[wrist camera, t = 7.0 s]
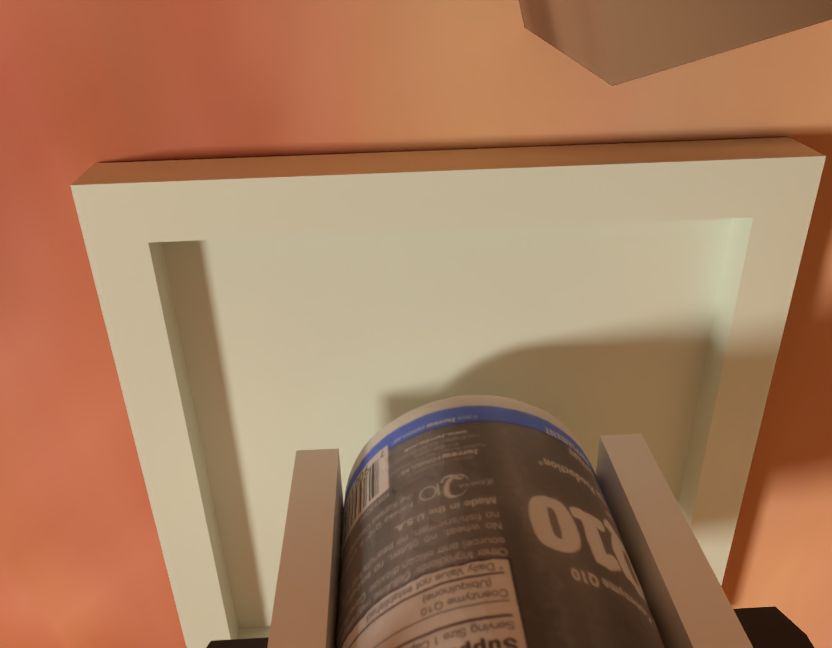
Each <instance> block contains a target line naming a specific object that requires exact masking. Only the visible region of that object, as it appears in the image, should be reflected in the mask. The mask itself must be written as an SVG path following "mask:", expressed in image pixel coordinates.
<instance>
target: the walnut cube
mask: <svg viewBox="0 0 832 648" xmlns="http://www.w3.org/2000/svg"><path fill="white" fill-rule="evenodd" d="M519 3H520V8H521V13H522V18H523V23H524V27H525V28H527V29H528V30H529V31H531V32H532V33H534V34H535V35H537V36H538V37H540V38H541V39H543V40H544V41H546V42H547V43H549V44H550V45H552V46H553V47H555V48H556V49H558V50H559V51H561V52H562V53H564V54H565V55H567V56H568V57H570V58H571V59H573V60H574V61H576V62H577V63H579V64H580V65H582V66H583V67H585V68H586V69H588V70H589V71H591V72H592V73H594V74H595V75H597V76H598V77H600V78H601V79H603V80H604V81H606V82H607V83H609V84H610V85H612V86H614V85H618V84H621V83H624V82H627V81H631V80H634V79H637V78H641V77H644V76H647V75H650V74H654V73H657V72H660V71H663V70H667V69H670V68H673V67H677V66H680V65H683V64H686V63H690V62H693V61H696V60H700V59H703V58H706V57H709V56H713V55H716V54H719V53H723V52H726V51H729V50H732V49H736V48H739V47H742V46H745V45H749V44H752V43H755V42H759V41H762V40H765V39H768V38H772V37H775V36H778V35H782V34H785V33H788V32H791V31H795V30H798V29H801V28H804V27H808V26H811V25H814V24H818V23H821V22H824V21H827V20H831V19H832V0H519Z"/></svg>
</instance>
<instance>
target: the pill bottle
mask: <svg viewBox="0 0 832 648" xmlns="http://www.w3.org/2000/svg"><path fill="white" fill-rule="evenodd" d="M336 648H665V646H664V643H663V641H662V638H661V635H660V633H659V631H658V628H657V625H656V623H655V620H654V618H653V616H652V613H651V611H650V609H649V606H648V604H647V601H646V599H645V596H644V593H643V590H642V588H641V585H640V583H639V580H638V578H637V576H636V573H635V571H634V569H633V566H632V564H631V561H630V559H629V556H628V554H627V551H626V549H625V546H624V544H623V541H622V539H621V536H620V534H619V531H618V528H617V526H616V524H615V521H614V519H613V516H612V514H611V512H610V509H609V507H608V504H607V501H606V499H605V496H604V494H603V491H602V489H601V486H600V484H599V481H598V479H597V477H596V474H595V472H594V470H593V467H592V465H591V463H590V461H589V459H588V457H587V455H586V453H585V451H584V449H583V448H582V446H581V445H580V443H579V442H578V440H577V439H576V438H575V436H574V435H573V434H572V433H571V432H570V431H569V430H568V429H567V428H566V427H565V426H564V425H563V424H562V423H561V422H560V421H559V420H557V419H556V418H555V417H553V416H552V415H551V414H549V413H548V412H546V411H544V410H542V409H540V408H537V407H535V406H532V405H529V404H526V403H524V402H521V401H517V400H514V399H510V398H505V397H499V396H491V395H462V396H455V397H451V398H447V399H442V400H437V401H434V402H431V403H428V404H425V405H423V406H420V407H418V408H416V409H413V410H411V411H409V412H407V413H405V414H403V415H401V416H400V417H398V418H397V419H395V420H393V421H392V422H390V423H389V424H387V425H386V426H385V427H383V428H382V429H381V430H380V431H378V432H377V433H376V434H375V435H374V436H373V437H372V438H371V439H370V440H369V441H368V442H367V444H366V445H365V446H364V447H363V449H362V450H361V452H360V454H359V455H358V457H357V459H356V461H355V463H354V465H353V467H352V469H351V472H350V475H349V478H348V482H347V486H346V491H345V501H344V509H343V527H342V544H341V567H340V577H339V596H338V606H337V634H336Z"/></svg>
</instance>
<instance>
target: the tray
mask: <svg viewBox="0 0 832 648" xmlns="http://www.w3.org/2000/svg"><path fill="white" fill-rule="evenodd" d="M825 159H826V156H825V155H823V154H821V153H819V152H817V151H815V150H813V149H812V148H810V147H808V146H806V145H804V144H802V143H800V142H798V141H796V140H794V139H792V138H790V137H778V138H751V139H725V140H698V141H671V142H645V143H618V144H592V145H565V146H539V147H512V148H485V149H459V150H432V151H406V152H379V153H353V154H326V155H299V156H273V157H246V158H220V159H193V160H167V161H140V162H114V163H95V164H94V165H93V166H92V167H90V168H89V169H88V170H87V171H86V172H85V173H84V174H83V175H81V176H80V177H79V178H78V179H77V180H76V181H75V182H74V183H72V184H71V185H70V186H71V190H72V194H73V198H74V202H75V206H76V210H77V213H78V217H79V221H80V225H81V229H82V233H83V237H84V241H85V245H86V249H87V253H88V257H89V261H90V265H91V269H92V273H93V277H94V281H95V285H96V289H97V293H98V297H99V301H100V305H101V309H102V313H103V317H104V321H105V325H106V329H107V333H108V337H109V341H110V345H111V349H112V353H113V357H114V361H115V365H116V369H117V373H118V377H119V381H120V384H121V388H122V392H123V396H124V400H125V404H126V408H127V412H128V416H129V420H130V424H131V428H132V432H133V436H134V440H135V444H136V448H137V452H138V456H139V460H140V464H141V468H142V472H143V476H144V480H145V484H146V488H147V492H148V496H149V500H150V504H151V508H152V512H153V516H154V520H155V524H156V528H157V532H158V536H159V540H160V544H161V548H162V552H163V556H164V559H165V563H166V567H167V571H168V575H169V579H170V583H171V587H172V591H173V595H174V599H175V603H176V607H177V611H178V615H179V619H180V623H181V627H182V631H183V635H184V639H185V643H186V647H187V648H206V647H207V646H208V644H209V643H210V641H214V640H231V639H249V638H266V637H269V633H270V626H271V619H272V612H273V605H274V599H275V592H276V585H277V578H278V571H279V565H280V558H281V551H282V544H283V537H284V531H285V524H286V517H287V510H288V503H289V497H290V490H291V483H292V476H293V469H294V462H295V456H296V451H297V450H317V449H338V448H339V457H340V469H341V480H342V491H343V502H344V501H345V491H346V486H347V482H348V478H349V475H350V472H351V469H352V467H353V465H354V463H355V461H356V459H357V457H358V455H359V454H360V452H361V450H362V449H363V447H364V446H365V445H366V444H367V442H368V441H369V440H370V439H371V438H372V437H373V436H374V435H375V434H376V433H377V432H378V431H380V430H381V429H382V428H383V427H385V426H386V425H387V424H389V423H390V422H392V421H393V420H395V419H397V418H398V417H400V416H401V415H403V414H405V413H407V412H409V411H411V410H413V409H416V408H418V407H420V406H423V405H425V404H428V403H431V402H434V401H437V400H442V399H447V398H451V397H455V396H462V395H491V396H499V397H505V398H510V399H514V400H517V401H521V402H524V403H526V404H529V405H532V406H535V407H537V408H540V409H542V410H544V411H546V412H548V413H549V414H551V415H552V416H553V417H555V418H556V419H557V420H559V421H560V422H561V423H562V424H563V425H564V426H565V427H566V428H567V429H568V430H569V431H570V432H571V433H572V434H573V435H574V436H575V438H576V439H577V440H578V442H579V443H580V445H581V446H582V448H583V449H584V451H585V453H586V455H587V457H588V459H589V461H590V463H591V465H592V467H593V470H594V472H595V474H596V466H597V458H598V449H599V441H600V436H604V435H624V434H642V436H643V438H644V440H645V442H646V443H647V445H648V447H649V449H650V451H651V453H652V455H653V457H654V459H655V461H656V463H657V465H658V466H659V468H660V470H661V472H662V474H663V476H664V478H665V480H666V482H667V484H668V486H669V487H670V489H671V491H672V493H673V495H674V497H675V499H676V501H677V503H678V505H679V507H680V509H681V510H682V512H683V514H684V516H685V518H686V520H687V522H688V524H689V526H690V528H691V530H692V531H693V533H694V535H695V537H696V539H697V541H698V543H699V545H700V547H701V549H702V551H703V553H704V554H705V556H706V558H707V560H708V562H709V564H710V566H711V568H712V570H713V572H714V574H715V575H716V577H717V579H718V581H719V583H720V585H722V581H723V577H724V573H725V569H726V565H727V561H728V557H729V553H730V549H731V544H732V540H733V536H734V532H735V528H736V524H737V520H738V516H739V512H740V508H741V503H742V499H743V495H744V491H745V487H746V483H747V479H748V475H749V471H750V466H751V462H752V458H753V454H754V450H755V446H756V442H757V438H758V434H759V430H760V425H761V421H762V417H763V413H764V409H765V405H766V401H767V397H768V393H769V389H770V384H771V380H772V376H773V372H774V368H775V364H776V360H777V356H778V352H779V348H780V343H781V339H782V335H783V331H784V327H785V323H786V319H787V315H788V311H789V306H790V302H791V298H792V294H793V290H794V286H795V282H796V278H797V274H798V270H799V265H800V261H801V257H802V253H803V249H804V245H805V241H806V237H807V233H808V229H809V224H810V220H811V216H812V212H813V208H814V204H815V200H816V196H817V192H818V188H819V183H820V179H821V175H822V171H823V167H824V163H825Z"/></svg>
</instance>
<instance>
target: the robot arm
mask: <svg viewBox="0 0 832 648" xmlns="http://www.w3.org/2000/svg"><path fill="white" fill-rule="evenodd" d="M596 477H597V479H598V481H599V484H600V486H601V489H602V491H603V494H604V496H605V499H606V501H607V504H608V507H609V509H610V512H611V514H612V516H613V519H614V521H615V524H616V526H617V528H618V531H619V534H620V536H621V539H622V541H623V544H624V546H625V549H626V551H627V554H628V556H629V559H630V561H631V564H632V566H633V569H634V571H635V573H636V576H637V578H638V580H639V583H640V585H641V588H642V590H643V593H644V596H645V599H646V601H647V604H648V606H649V609H650V611H651V613H652V616H653V618H654V620H655V623H656V625H657V628H658V631H659V633H660V635H661V638H662V641H663V643H664V646H665V648H814V647H813V645H812V643H811V642H810V640H809V638H808V637H807V635H806V634H805V633H804V632H803V631H802V630H800V629H799V628H798V627H797V626H796V625H795V624H794V623H793V622H792V621H791V620H789V619H788V618H787V617H786V616H785V615H784V614H783V613H782V612H781V611H779V610H778V609H777V608H776V607H759V608H741V609H733V608H732V606H731V604H730V602H729V600H728V598H727V597H726V595H725V593H724V591H723V589H722V587H721V585H720V583H719V581H718V579H717V577H716V575H715V574H714V572H713V570H712V568H711V566H710V564H709V562H708V560H707V558H706V556H705V554H704V553H703V551H702V549H701V547H700V545H699V543H698V541H697V539H696V537H695V535H694V533H693V531H692V530H691V528H690V526H689V524H688V522H687V520H686V518H685V516H684V514H683V512H682V510H681V509H680V507H679V505H678V503H677V501H676V499H675V497H674V495H673V493H672V491H671V489H670V487H669V486H668V484H667V482H666V480H665V478H664V476H663V474H662V472H661V470H660V468H659V466H658V465H657V463H656V461H655V459H654V457H653V455H652V453H651V451H650V449H649V447H648V445H647V443H646V442H645V440H644V438H643V436H642V434H624V435H604V436H600V441H599V449H598V458H597V466H596ZM343 509H344V502H343V491H342V480H341V469H340V457H339V448H338V449H317V450H297V451H296V456H295V462H294V469H293V476H292V483H291V490H290V497H289V503H288V510H287V517H286V524H285V531H284V537H283V544H282V551H281V558H280V565H279V571H278V578H277V585H276V592H275V599H274V605H273V612H272V619H271V626H270V633H269V637H266V638H249V639H231V640H214V641H210V643H209V644H208V646H207V647H206V648H336V634H337V606H338V596H339V577H340V567H341V544H342V527H343Z"/></svg>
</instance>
